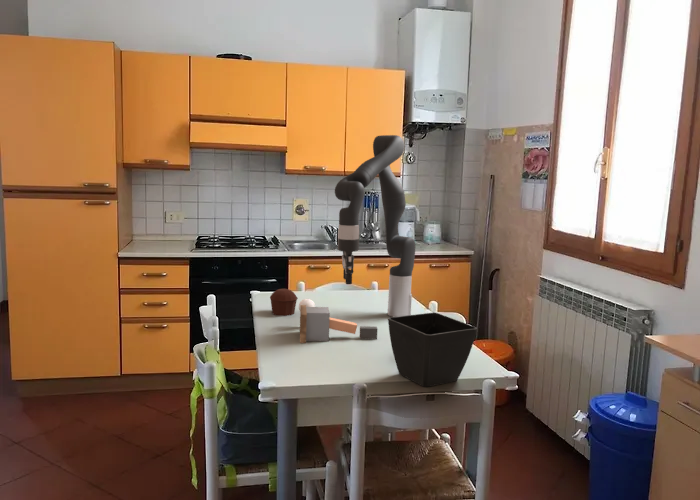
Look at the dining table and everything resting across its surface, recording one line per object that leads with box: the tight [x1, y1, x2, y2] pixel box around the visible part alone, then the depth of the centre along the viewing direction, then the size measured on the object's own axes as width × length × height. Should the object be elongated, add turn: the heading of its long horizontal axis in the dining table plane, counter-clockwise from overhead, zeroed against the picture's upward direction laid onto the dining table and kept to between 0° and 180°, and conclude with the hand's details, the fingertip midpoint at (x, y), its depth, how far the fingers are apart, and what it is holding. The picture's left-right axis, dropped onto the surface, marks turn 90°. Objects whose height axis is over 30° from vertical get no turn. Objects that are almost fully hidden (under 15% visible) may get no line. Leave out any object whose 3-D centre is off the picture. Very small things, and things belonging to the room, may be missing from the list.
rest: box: [359, 325, 378, 340], centre depth 212 cm, size 6×3×4 cm, turn 95°
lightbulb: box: [298, 298, 316, 311], centre depth 222 cm, size 6×6×11 cm
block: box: [306, 306, 331, 342], centre depth 209 cm, size 8×9×10 cm
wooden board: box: [299, 305, 307, 344], centre depth 209 cm, size 2×14×10 cm, turn 6°
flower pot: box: [387, 312, 478, 388], centre depth 173 cm, size 19×19×17 cm
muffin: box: [269, 288, 298, 317], centre depth 242 cm, size 12×11×10 cm
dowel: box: [329, 317, 358, 335], centre depth 210 cm, size 16×3×3 cm, turn 95°
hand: (347, 281), depth 213 cm, fingers open, 8 cm apart
